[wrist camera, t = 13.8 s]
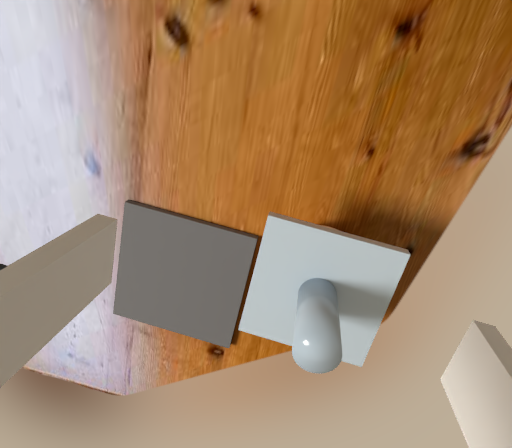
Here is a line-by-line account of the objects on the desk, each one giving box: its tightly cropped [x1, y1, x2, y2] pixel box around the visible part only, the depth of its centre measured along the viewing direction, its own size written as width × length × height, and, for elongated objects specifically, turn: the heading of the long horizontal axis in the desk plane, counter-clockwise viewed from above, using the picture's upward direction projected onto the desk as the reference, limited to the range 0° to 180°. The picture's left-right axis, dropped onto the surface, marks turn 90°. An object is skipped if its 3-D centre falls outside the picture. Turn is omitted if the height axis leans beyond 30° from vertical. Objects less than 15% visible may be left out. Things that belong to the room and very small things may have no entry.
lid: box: [238, 212, 410, 373], centre depth 35 cm, size 14×14×10 cm
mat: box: [113, 200, 258, 348], centre depth 52 cm, size 18×18×1 cm
